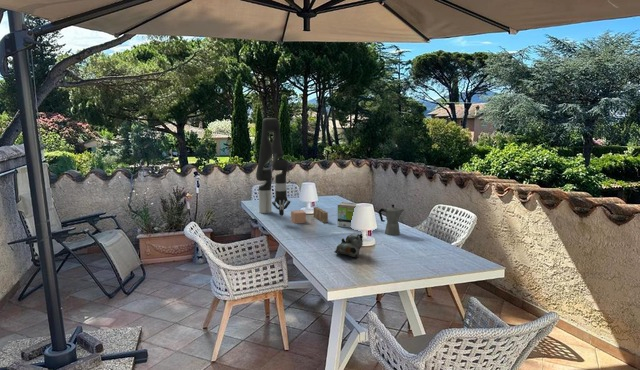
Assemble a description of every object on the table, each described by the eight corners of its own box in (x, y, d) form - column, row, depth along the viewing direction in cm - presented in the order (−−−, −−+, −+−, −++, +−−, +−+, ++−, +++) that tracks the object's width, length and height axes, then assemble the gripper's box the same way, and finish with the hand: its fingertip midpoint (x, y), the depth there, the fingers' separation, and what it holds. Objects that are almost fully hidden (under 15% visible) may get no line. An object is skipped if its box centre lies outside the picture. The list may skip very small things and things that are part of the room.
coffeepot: (401, 231, 266) (402, 202, 264) (404, 235, 257) (405, 205, 254) (376, 231, 266) (377, 203, 263) (379, 235, 256) (379, 206, 254)
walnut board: (313, 216, 307) (313, 207, 306) (317, 216, 308) (317, 207, 307) (323, 223, 289) (323, 212, 288) (327, 222, 290) (327, 212, 289)
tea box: (337, 226, 278) (337, 204, 276) (342, 223, 288) (342, 201, 286) (359, 228, 273) (359, 206, 271) (363, 225, 282) (363, 203, 280)
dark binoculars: (332, 252, 224) (341, 227, 227) (353, 260, 225) (362, 236, 227) (337, 252, 209) (347, 226, 212) (359, 261, 210) (369, 235, 213)
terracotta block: (291, 221, 295) (291, 211, 294) (302, 220, 298) (302, 210, 297) (294, 223, 288) (294, 213, 287) (305, 222, 291) (305, 212, 290)
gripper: (288, 188, 291) (289, 213, 293) (269, 189, 286) (270, 215, 289) (292, 189, 284) (292, 215, 286) (272, 191, 280) (273, 217, 282)
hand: (281, 215), depth 288 cm, fingers closed
